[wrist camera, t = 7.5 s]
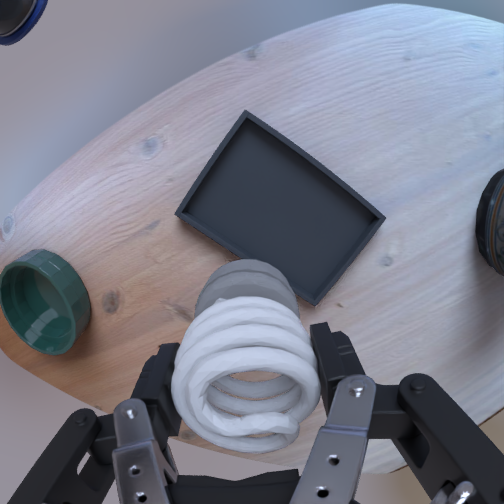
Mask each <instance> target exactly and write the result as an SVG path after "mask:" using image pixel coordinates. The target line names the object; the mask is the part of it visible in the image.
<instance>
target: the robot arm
mask: <svg viewBox="0 0 504 504" xmlns="http://www.w3.org/2000/svg"><path fill="white" fill-rule="evenodd" d="M37 3H38V0H0V36H1V37H8V36H11V35H13V34H15V33H16V32H17V31H19V30H20V29H21V28H22V27H23V26H24V25H25V24H26V22H27V21H28V20H29V18H30V17H31V15H32V14H33V12H34V10H35V8H36V6H37ZM310 335H311V342H312V345H313V351H314V354H315V356H316V358H317V360H318V370H319V374H318V376H319V379H320V382H321V395H322V399H323V403H324V407H325V411H326V415H327V420H326V423H325V426H321V427H320V429H319V431H318V434H317V437H316V439H315V442H314V445H313V447H312V450H311V453H310V455H309V458H308V460H307V463H306V465H305V468H304V471H303V473H302V475H301V476H299V472H298V469H292V470H284V471H276V472H267V473H263V474H260V475H257V476H253V477H250V478H246V479H243V480H238V481H231V480H225V479H220V478H215V477H209V476H192V475H179V473H178V470H177V467H176V464H175V461H174V458H173V455H172V453H171V449H170V447H169V445H168V443H167V440H168V437H169V436H178V434H179V429H180V424H181V420H182V418H181V416H180V415H179V413H178V412H177V410H176V407H175V405H174V402H173V399H172V393H171V382H172V376H173V372H174V369H175V358H176V355H177V351H178V349H179V347H180V344H179V343H167V344H162V345H161V346H160V349H159V351H158V354H157V355H152V356H151V357H150V358H149V359H148V360H147V361H146V362H145V365H144V367H143V369H142V372H141V374H140V376H139V379H138V381H137V383H136V386H135V388H134V390H133V393H132V395H131V398H130V399H127V400H125V401H123V402H121V403H120V404H118V405H117V406H116V408H115V410H114V413H113V414H108V415H104V416H99V417H97V415H96V414H95V413H94V411H93V410H91V409H87V408H84V409H79V410H77V411H75V412H74V413H72V414H71V415H70V417H69V418H68V419H67V420H66V422H65V423H64V424H63V426H62V427H61V428H60V430H59V431H58V433H57V434H56V435H55V437H54V438H53V439H52V441H51V442H50V443H49V445H48V446H47V447H46V449H45V450H44V452H43V453H42V454H41V456H40V457H39V459H38V460H37V461H36V463H35V464H34V466H33V467H32V468H31V470H30V471H29V473H28V474H27V476H26V477H25V478H24V480H23V481H22V483H21V484H20V486H19V487H18V488H17V490H16V491H15V493H14V494H13V496H12V497H11V499H10V500H9V502H8V503H7V504H102V502H103V500H104V498H105V497H106V495H107V493H108V491H109V489H110V487H111V485H112V483H113V482H114V480H115V479H116V485H117V491H118V496H119V501H120V504H360V503H358V502H357V501H355V500H354V498H355V494H356V491H357V487H358V483H359V479H360V475H361V471H362V467H363V463H364V458H365V454H366V450H367V445H368V441H369V439H391V440H392V442H393V443H394V445H395V446H396V448H397V449H398V451H399V452H400V454H401V455H402V457H403V458H404V460H405V461H406V463H407V464H408V466H409V467H410V468H411V470H412V472H413V473H414V474H415V476H416V478H417V479H418V481H419V482H420V484H421V485H422V487H423V488H424V490H425V491H426V493H427V494H428V496H429V497H430V499H431V500H432V501H431V503H430V504H504V455H503V454H502V452H501V451H500V450H499V449H498V448H497V447H496V446H495V445H494V443H493V442H492V441H491V440H490V439H489V438H488V437H487V436H486V435H485V434H484V433H483V431H482V430H481V429H480V428H479V427H478V426H477V425H476V424H475V423H474V422H473V420H472V419H471V418H470V417H469V416H468V415H467V414H466V413H465V412H464V411H463V410H462V409H461V408H460V407H459V406H458V404H457V403H456V402H455V401H454V400H453V399H452V398H451V397H450V396H449V395H448V394H447V393H446V392H445V391H444V390H443V389H442V388H441V387H440V386H439V385H438V383H437V382H436V381H435V380H434V379H433V378H431V377H430V376H428V375H426V374H421V373H415V374H410V375H408V376H406V377H404V378H403V379H402V380H401V382H400V384H399V385H380V384H376V383H375V382H374V380H373V379H372V378H370V377H368V376H366V374H365V372H364V370H363V368H362V365H361V363H360V361H359V359H358V356H357V354H356V352H355V350H354V348H353V346H352V343H351V341H350V339H349V337H348V336H347V335H345V334H344V333H343V332H341V331H338V332H333V333H331V331H330V328H329V326H328V323H327V322H324V323H318V324H313V325H310ZM86 452H88V453H89V454H90V457H89V459H88V460H87V462H86V464H85V465H84V467H83V469H82V470H81V472H80V473H79V475H78V474H77V467H78V464H79V463H80V461H81V460H82V458H83V457H84V455H85V454H86Z"/></svg>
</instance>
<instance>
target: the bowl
mask: <svg viewBox="0 0 504 504" xmlns="http://www.w3.org/2000/svg"><path fill="white" fill-rule="evenodd" d="M0 305H1V308H2V311H3V314H4V316H5V317H6V319H7V321H8V323H9V325H10V326H11V328H12V329H13V330H14V331H15V333H16V334H17V335H18V336H19V337H20V339H22V340H23V341H24V342H25V343H26V344H28V345H29V346H30V347H32V348H33V349H35V350H37V351H39V352H41V353H44V354H49V355H59V354H63V353H65V352H66V351H68V350H69V349H70V348H71V347H72V346H73V345H74V343H75V342H76V341H77V339H78V338H79V337H80V336H81V334H82V333H83V332H84V331H85V329H86V327H87V324H88V322H89V320H90V303H89V298H88V294H87V290H86V289H85V287H84V285H83V283H82V281H81V279H80V277H79V275H78V274H77V273H76V271H75V270H74V269H73V268H72V267H71V265H70V264H69V263H68V262H66V261H65V260H64V259H62V258H61V257H60V256H59V255H57V254H55V253H52V252H49V251H47V250H32V251H30V252H28V253H26V254H25V255H23V256H21V257H20V258H18V259H16V260H15V261H13V262H11V263H10V264H8V265H7V266H5V268H4V269H3V271H2V273H1V274H0Z"/></svg>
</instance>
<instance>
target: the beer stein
mask: <svg viewBox="0 0 504 504" xmlns="http://www.w3.org/2000/svg"><path fill="white" fill-rule="evenodd" d="M476 236H477V241H478V246H479V251H480V253H481V254H482V256H483V257H484V259H485V260H486V261H487V263H488V264H489V266H491V267H493V268H494V269H495V270H496V272H497V273H499V274H500V275H502V276H504V169H502V170H500V171H498V172H497V173H496V174H495V175H494V176H493V177H492V178H491V179H490V181H489V183H488V184H487V186H486V188H485V190H484V191H483V193H482V196H481V199H480V202H479V206H478V209H477V219H476Z"/></svg>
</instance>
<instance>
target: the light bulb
mask: <svg viewBox="0 0 504 504" xmlns="http://www.w3.org/2000/svg"><path fill="white" fill-rule="evenodd" d="M248 371H267V372H274V373H278V374H282V375H281V376H279V377H277V378H275V379H272V380H268V381H264V382H246V381H241V380H238V379H234V378H232V377H230V376H228V375H231V374H235V373H239V372H248ZM318 374H319V370H318V360H317V358H316V356H315V354H314V351H313V345H312V342H311V338H310V337H309V335H308V333H307V332H306V330H305V329H304V328H303V326H302V324H301V322H300V315H299V309H298V304H297V299H296V296H295V294H294V292H293V290H292V288H291V287H290V285H289V283H288V281H287V279H286V278H285V277H284V275H283V274H282V273H281V272H280V271H279V270H278V269H276V268H275V267H273V266H271V265H270V264H268V263H265V262H262V261H259V260H253V259H241V260H236V261H232V262H229V263H227V264H225V265H223V266H221V267H220V268H218V269H217V270H216V271H215V272H214V273H213V274H212V275H211V276H210V278H209V280H208V281H207V283H206V285H205V286H204V288H203V290H202V291H201V293H200V295H199V297H198V300H197V303H196V308H195V319H194V321H193V322H192V323H191V325H190V326H189V328H188V329H187V331H186V333H185V336H184V338H183V341H182V343H181V345H180V347H179V349H178V351H177V355H176V358H175V369H174V372H173V376H172V382H171V393H172V399H173V402H174V405H175V407H176V410H177V412H178V413H179V415H180V416H181V418H182V419H183V421H184V422H185V424H186V425H187V426H188V427H190V428H191V429H192V430H193V431H194V432H195V433H196V434H197V435H199V436H200V437H201V438H203V439H205V440H207V441H209V442H211V443H213V444H215V445H217V446H220V447H222V448H225V449H229V450H233V451H238V452H242V453H268V452H273V451H276V450H279V449H282V448H285V447H286V446H288V445H290V444H291V443H293V442H294V441H295V439H296V438H297V437H298V435H299V430H300V426H299V423H300V422H302V421H303V420H305V419H306V418H307V417H308V416H309V415H310V414H311V413H312V412H313V411H314V410H315V408H316V406H317V404H318V403H319V400H320V396H321V382H320V379H319V376H318ZM213 385H214V386H215V387H214V386H213ZM216 387H217V388H219V389H221V390H222V391H224V392H226V393H229V394H233V395H236V396H240V397H247V398H265V397H271V396H275V395H279V394H281V393H284V392H286V391H287V392H286V393H284V394H282V395H280V396H278V397H274V398H271V399H266V400H256V401H254V400H243V399H239V398H235V397H232V396H230V395H227V394H225V393H223V392H221V391H220V390H218V389H217V388H216ZM288 390H289V391H288ZM211 404H212V405H211ZM214 406H215V407H214ZM216 407H217V408H216ZM218 408H219V409H221V410H224V411H227V412H230V413H234V414H238V415H245V416H242V417H238V416H235V415H232V414H229V413H226V412H223V411H221V410H219V409H218ZM289 409H290V410H289ZM287 410H288V411H287ZM284 411H286V412H285V413H281V412H284ZM266 433H275V434H273V435H270V436H266V437H262V438H254V437H244V436H249V435H253V434H266Z"/></svg>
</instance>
